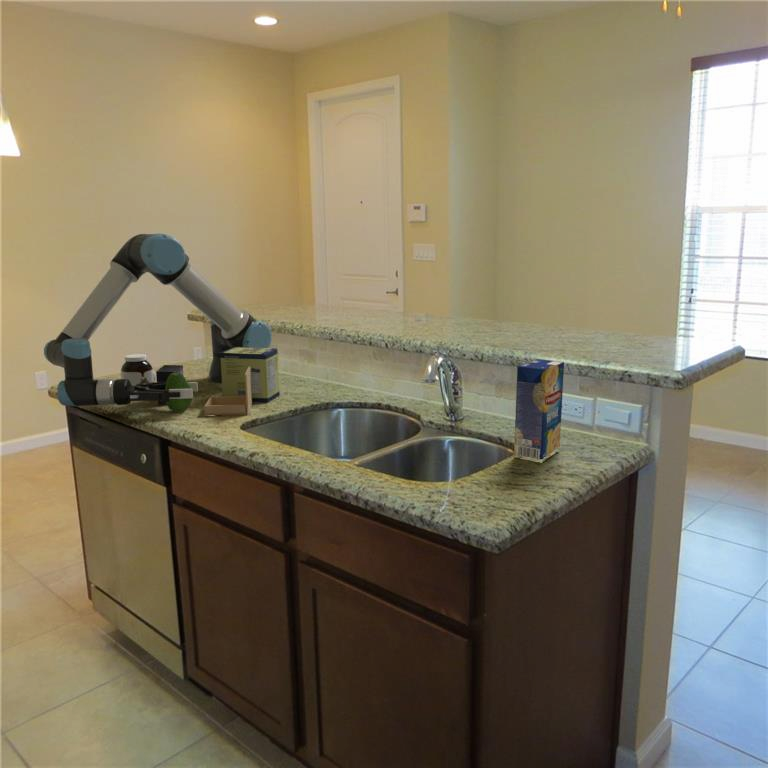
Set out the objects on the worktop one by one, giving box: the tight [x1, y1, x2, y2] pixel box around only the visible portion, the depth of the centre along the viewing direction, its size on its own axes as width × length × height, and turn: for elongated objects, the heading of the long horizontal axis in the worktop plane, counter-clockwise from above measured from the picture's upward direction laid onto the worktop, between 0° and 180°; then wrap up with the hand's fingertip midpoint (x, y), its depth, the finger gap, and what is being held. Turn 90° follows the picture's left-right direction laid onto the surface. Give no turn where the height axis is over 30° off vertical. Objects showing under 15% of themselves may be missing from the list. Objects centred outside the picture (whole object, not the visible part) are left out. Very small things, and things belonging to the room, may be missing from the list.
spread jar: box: [120, 353, 157, 386], centre depth 238 cm, size 12×11×12 cm
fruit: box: [165, 372, 193, 413], centre depth 207 cm, size 8×8×12 cm
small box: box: [155, 364, 184, 404], centre depth 222 cm, size 11×6×10 cm, turn 4°
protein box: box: [220, 347, 281, 404], centre depth 223 cm, size 10×16×16 cm
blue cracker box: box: [513, 358, 565, 459], centre depth 165 cm, size 7×11×22 cm, turn 144°
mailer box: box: [203, 367, 253, 416], centre depth 208 cm, size 12×12×12 cm
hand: (194, 390), depth 207 cm, fingers closed on fruit, 8 cm apart
